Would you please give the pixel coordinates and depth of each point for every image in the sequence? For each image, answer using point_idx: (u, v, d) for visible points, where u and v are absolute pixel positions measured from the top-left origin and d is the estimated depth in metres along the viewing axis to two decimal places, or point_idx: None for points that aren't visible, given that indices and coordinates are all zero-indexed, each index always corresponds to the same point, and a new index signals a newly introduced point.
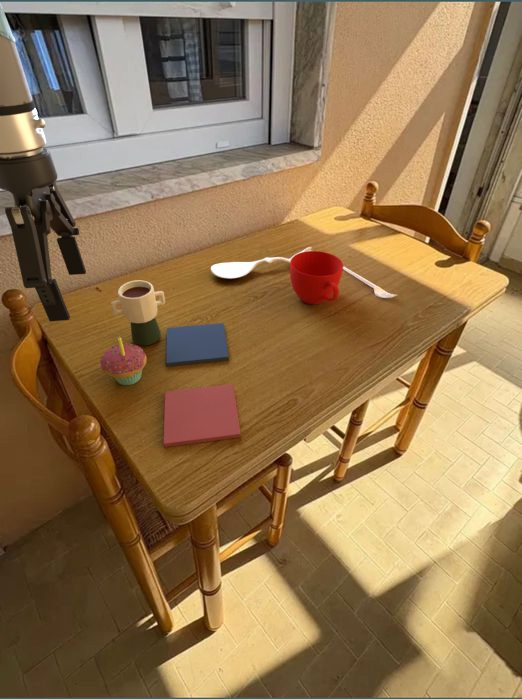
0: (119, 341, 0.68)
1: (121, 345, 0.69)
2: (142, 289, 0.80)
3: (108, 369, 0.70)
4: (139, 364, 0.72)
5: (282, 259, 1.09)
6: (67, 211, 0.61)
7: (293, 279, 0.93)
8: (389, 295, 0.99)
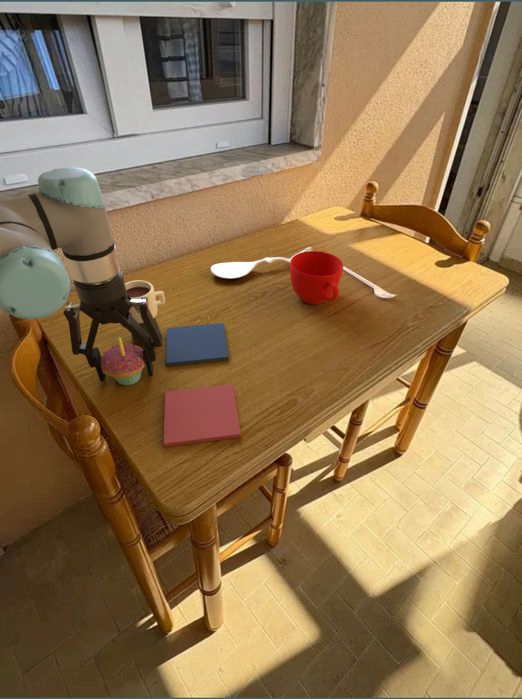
0: (119, 341, 0.68)
1: (121, 345, 0.69)
2: (142, 289, 0.80)
3: (108, 369, 0.70)
4: (139, 364, 0.72)
5: (282, 259, 1.09)
6: None
7: (293, 279, 0.93)
8: (389, 295, 0.99)
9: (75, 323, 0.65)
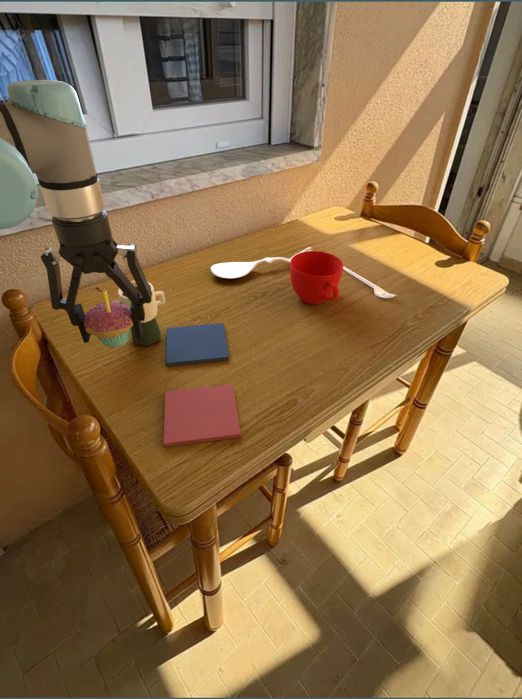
0: (104, 294, 0.62)
1: (106, 299, 0.62)
2: None
3: (92, 326, 0.64)
4: (127, 322, 0.65)
5: (282, 259, 1.09)
6: None
7: (293, 279, 0.93)
8: (389, 295, 0.99)
9: (54, 271, 0.58)
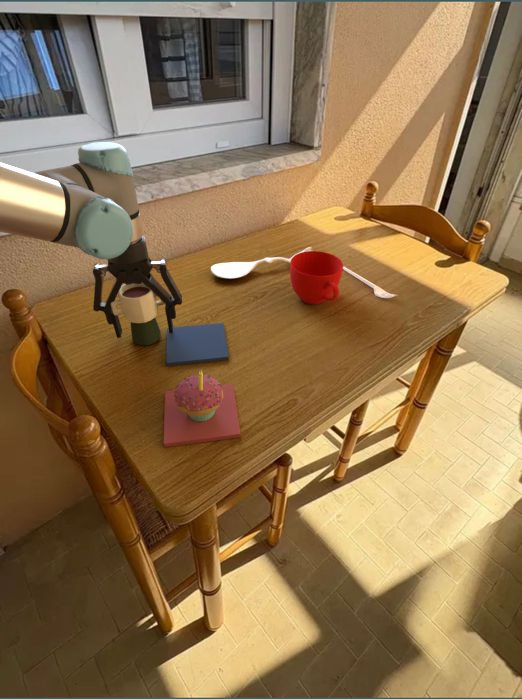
0: (200, 375, 0.61)
1: (201, 379, 0.61)
2: (142, 289, 0.80)
3: (185, 406, 0.63)
4: (218, 399, 0.64)
5: (282, 259, 1.09)
6: None
7: (293, 279, 0.93)
8: (389, 295, 0.99)
9: (101, 281, 0.74)
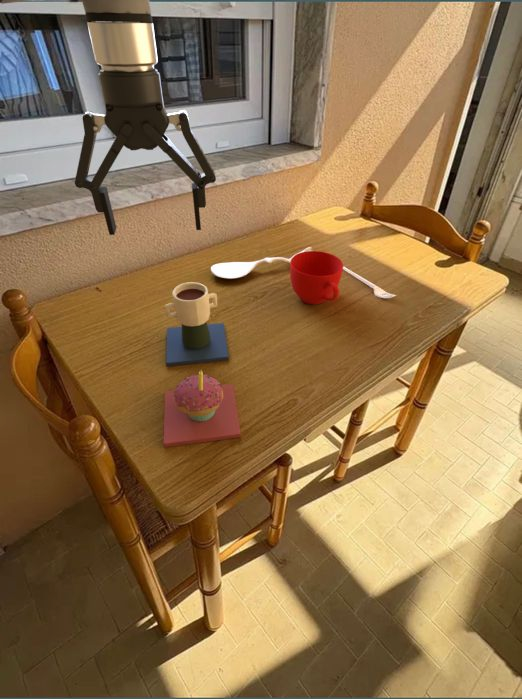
0: (200, 375, 0.61)
1: (201, 379, 0.61)
2: (195, 291, 0.77)
3: (185, 406, 0.63)
4: (218, 399, 0.64)
5: (282, 259, 1.09)
6: None
7: (293, 279, 0.93)
8: (389, 295, 0.99)
9: (92, 139, 0.51)
